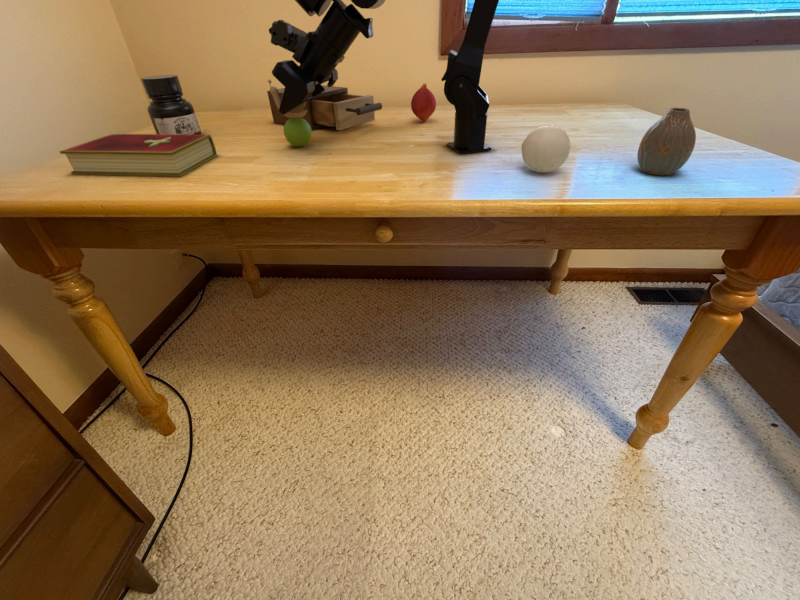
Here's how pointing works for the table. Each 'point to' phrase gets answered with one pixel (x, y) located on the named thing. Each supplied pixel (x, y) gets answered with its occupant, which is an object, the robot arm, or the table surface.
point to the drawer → (343, 110)
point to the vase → (667, 143)
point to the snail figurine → (294, 122)
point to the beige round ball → (545, 149)
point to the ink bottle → (169, 106)
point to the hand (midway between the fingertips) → (284, 110)
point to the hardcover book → (141, 154)
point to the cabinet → (282, 119)
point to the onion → (423, 103)
